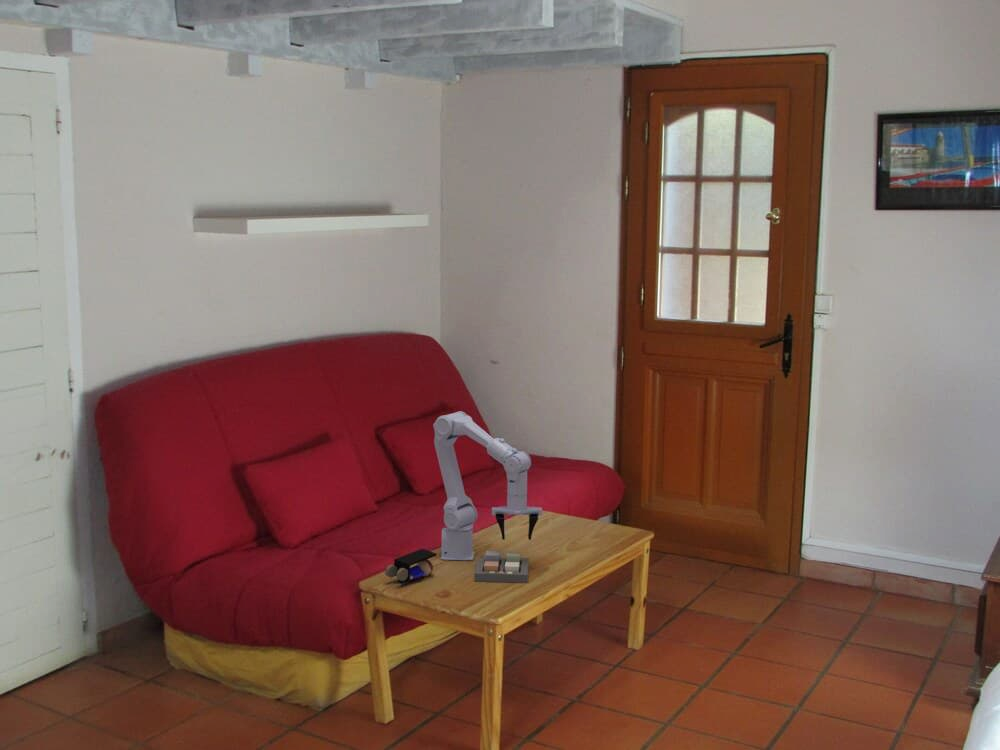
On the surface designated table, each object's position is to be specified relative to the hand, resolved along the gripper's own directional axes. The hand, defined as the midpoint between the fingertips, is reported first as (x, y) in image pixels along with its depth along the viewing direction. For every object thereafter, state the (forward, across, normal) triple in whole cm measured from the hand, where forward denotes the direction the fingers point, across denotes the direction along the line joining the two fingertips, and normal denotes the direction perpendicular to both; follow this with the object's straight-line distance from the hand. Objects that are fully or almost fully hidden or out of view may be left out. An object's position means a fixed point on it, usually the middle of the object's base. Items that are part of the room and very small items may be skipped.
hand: (516, 538), depth 336 cm
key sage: (+7, -1, -1) cm, 8 cm away
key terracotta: (+8, -7, -6) cm, 12 cm away
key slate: (+7, -7, 0) cm, 10 cm away
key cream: (+7, -1, -7) cm, 10 cm away
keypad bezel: (+9, -4, -4) cm, 11 cm away
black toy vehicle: (+10, -30, -9) cm, 33 cm away
